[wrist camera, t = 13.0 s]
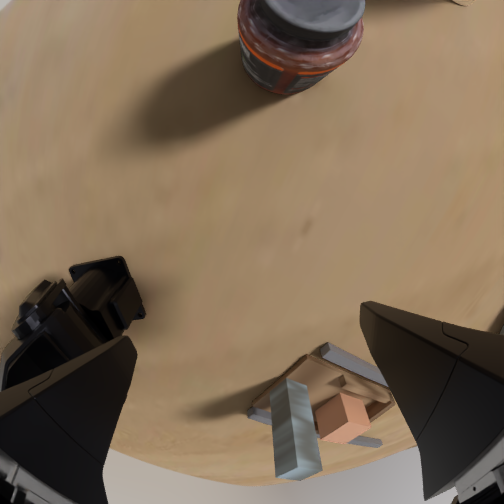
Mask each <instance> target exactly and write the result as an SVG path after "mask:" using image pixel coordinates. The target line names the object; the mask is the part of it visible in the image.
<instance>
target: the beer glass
mask: <svg viewBox="0 0 504 504" xmlns="http://www.w3.org/2000/svg"><path fill="white" fill-rule="evenodd" d="M452 1H454V2H455V3H457V4H459V5H463V6H468V5H471V4H472V3H474V2H475V1H476V0H452Z"/></svg>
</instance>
